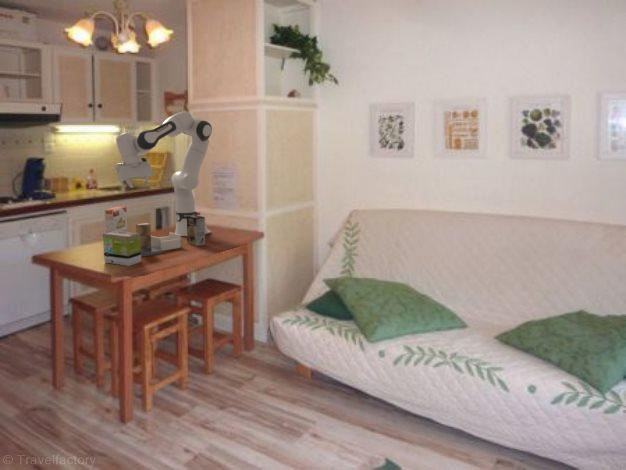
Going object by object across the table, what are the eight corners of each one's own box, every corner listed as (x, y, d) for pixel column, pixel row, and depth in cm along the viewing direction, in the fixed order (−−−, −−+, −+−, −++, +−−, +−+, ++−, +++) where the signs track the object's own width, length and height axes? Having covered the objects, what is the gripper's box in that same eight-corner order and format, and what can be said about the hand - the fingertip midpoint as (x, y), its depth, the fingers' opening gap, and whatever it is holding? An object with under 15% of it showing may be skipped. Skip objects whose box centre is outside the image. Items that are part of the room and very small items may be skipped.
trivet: (149, 248, 303) (149, 246, 303) (163, 253, 293) (163, 250, 293) (125, 252, 293) (125, 249, 293) (138, 257, 283) (138, 254, 283)
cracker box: (115, 247, 306) (113, 209, 302) (105, 246, 307) (103, 209, 303) (128, 242, 319) (126, 206, 316) (119, 241, 321) (117, 206, 317)
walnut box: (147, 248, 296) (146, 222, 294) (151, 249, 294) (150, 223, 291) (137, 250, 292) (136, 224, 290) (141, 251, 289) (139, 225, 287)
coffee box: (187, 243, 318) (186, 215, 315) (196, 242, 322) (195, 214, 319) (196, 246, 312) (195, 217, 308) (205, 244, 316) (205, 216, 313)
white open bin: (170, 244, 315) (170, 232, 314) (181, 247, 307) (181, 235, 306) (149, 247, 306) (149, 235, 304) (160, 251, 298) (159, 238, 297)
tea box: (103, 263, 270) (101, 233, 267) (117, 258, 280) (116, 230, 277) (128, 266, 265) (127, 236, 262) (142, 261, 274) (140, 232, 271)
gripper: (117, 161, 291) (125, 186, 290) (150, 158, 306) (158, 182, 306) (111, 166, 295) (119, 190, 295) (144, 162, 310) (152, 185, 310)
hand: (139, 186), depth 300 cm, fingers open, 8 cm apart
